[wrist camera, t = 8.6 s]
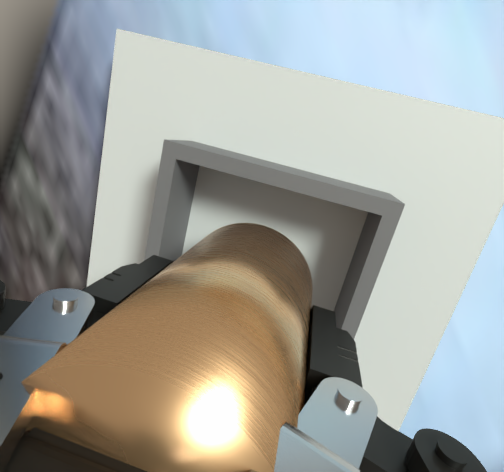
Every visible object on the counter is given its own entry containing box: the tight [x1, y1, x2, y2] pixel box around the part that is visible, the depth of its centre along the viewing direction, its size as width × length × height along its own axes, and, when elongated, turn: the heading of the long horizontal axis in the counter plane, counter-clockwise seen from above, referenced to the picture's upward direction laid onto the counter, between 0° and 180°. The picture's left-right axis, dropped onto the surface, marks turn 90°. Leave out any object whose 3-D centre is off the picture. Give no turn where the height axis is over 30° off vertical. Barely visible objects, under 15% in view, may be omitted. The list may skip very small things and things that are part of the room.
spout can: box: [22, 223, 313, 472], centre depth 9 cm, size 5×5×11 cm
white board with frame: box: [87, 29, 504, 431], centre depth 17 cm, size 18×17×5 cm
